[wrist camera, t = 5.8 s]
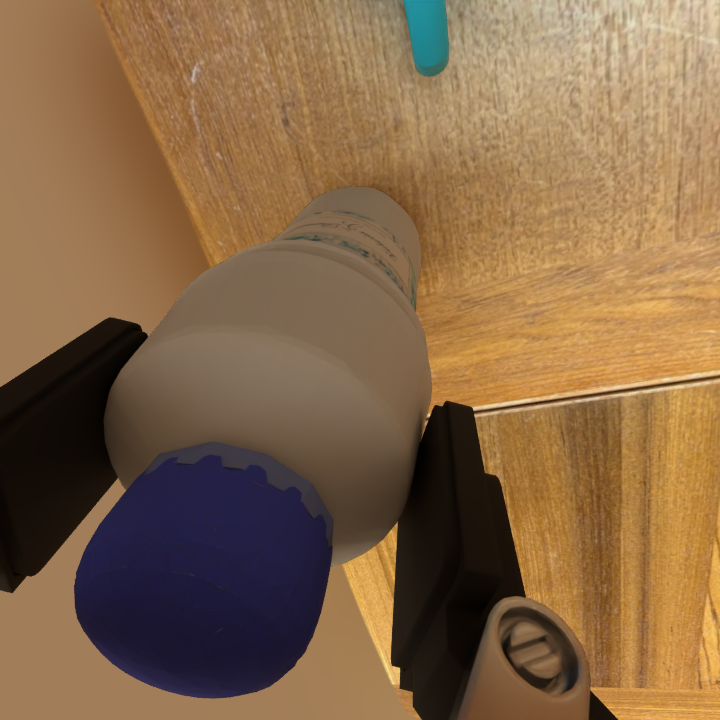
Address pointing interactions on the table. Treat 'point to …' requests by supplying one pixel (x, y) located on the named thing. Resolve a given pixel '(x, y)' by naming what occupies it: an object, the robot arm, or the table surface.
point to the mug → (428, 35)
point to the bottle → (259, 450)
